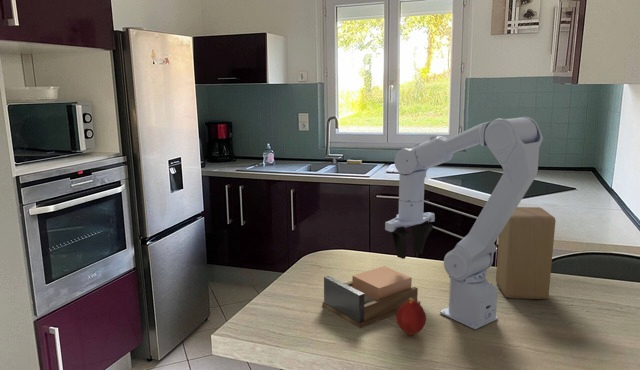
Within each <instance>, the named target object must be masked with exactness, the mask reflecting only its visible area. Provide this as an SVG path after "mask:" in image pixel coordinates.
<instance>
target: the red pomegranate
mask: <svg viewBox="0 0 640 370" xmlns="http://www.w3.org/2000/svg"><path fill="white" fill-rule="evenodd" d="M395 315H396V316H395V319H396V324H397V325H398V327H399V328H400V330H402V331H403V332H404V333H406V334H407V336H414V335H415V334H418V333H419V332H421V330H423V329H424V327H425V325H426V322H427V315H426V312H425V310H424V308H423V306H422V305H421V303H420V304H418V303H417V302H416V301H415V300H414V299H413V298H409V299H408V301H407V302H405V303H403V304H402V305H401V306H400V307H399V309H398V311H397V314H395Z"/></svg>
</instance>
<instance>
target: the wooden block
mask: <svg viewBox="0 0 640 370" xmlns="http://www.w3.org/2000/svg"><path fill="white" fill-rule="evenodd" d="M556 220H557V219H556V217H554V216H553V215H552V214H550V213H549V212H548V211H547V210H545V209H544V208H542V207H539V206H538V207H536V206H534V207H531V206H530V207H529V206H528V207H527V206H517V208H516V209H515V211H514V212H513V214H512V216H511V217H510V219H509V220H508V222H507V224H506V225H505V227H504V228H503V230H502V232H501V233H500V235H499V236H498V243H497V244H498V245H497V257H496V270H495V271H496V273H495V282H496V284H497V286H498V287H499V289H500V290H501V292H502V293H503V295H504V297H506V298H508V299H531V300H534V299H535V300H547V299H548V298H549V296H550V285H551V284H550V283H551V276H552V275H551V274H552V263H553V262H552V261H553V252H554V241H555V232H556V231H555V230H556Z"/></svg>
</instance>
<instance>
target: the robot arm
mask: <svg viewBox="0 0 640 370" xmlns="http://www.w3.org/2000/svg"><path fill="white" fill-rule="evenodd" d="M543 140H544V137H543V134H542V131H541V129H540V127H539V124H538V123H537V121H536V120H535V119H533V118H531V117H529V116H519V117H513V118H496V119H494V120H492V121H487V122H483V123H480V124H476V125H475V126H473V127H471V128H469V129H466V130H464V131H462V132H459V133H458V134H456V135H455V134H454V135H453V136H451V137H449V138H448V137H445V136H443V135H438V134H435V135H432V136H429V139H428V140H426V141H424V142H422V143H420V142H416V143H414V144H413V147H412V148H401V149H400V150H398V152H396V154H395V156H394V166H395V169H396V170H397V172H398V173H399V180H398V183H399V185H398V187H399V188H398V214H396V217H395V218H392V219H390V220H388V221H385V223H384V230H385V231H387V232H388V235H390V237H391V239H392V241H393V244H394V248H395V252H396V256H397V258H399V259H402V260H406V258H407V251H408V250H407V248H408V243H409V239H410V237H411V234H412V250H413V252H414V253H416V254H418V255H421V254H423V251H424V247H425V243H426V241H427V238H428V237H429V235H430V233H431V232H432V230H433V227H434V225H433V224H431V223H432V222H435V219H436V217H435V213H434V212H429V211H428V212H424V210H425V209H424V208H425V207H424V205H425V204H424V203H425V202H424V201H425V179H426V177H427V171H428V170H429V169H431V168H433V167H436V166H439V165H442V164H444V163H448V162H450V161H451V160H452V158H453V156H454V153H457V152H460V151H463V150H466V149H469V148H472V147H475V146H477V145H480V146H481V147H488V149H489V150H490V152H491V153H492V155H493V156H494V157H495V159H496V160H497V162H498V163H499V164H500V166H501V167H502V169H503V174H502V175H501V177H500V179H499V180H498V182H497V184H496V185H495V187H494V189H493V190H492V193H491V194H490V196H489V198H488V199H487V201H486V203H485V204H484V206H483V208H482V209H481V212H480V213H479V215H478V216H477V218H476V220H475V222H474V224H473V225H472V227H471V228H470V230H469V232H468V233H467V235H465V236H464V237H463V238H462V239H461V240H460V241H459V242H457V243H456V245H455V246H454V248H453V249H452V250H450V251H448V252H447V253H446V254H445V256H444V258H443V266H444V270H445V272H446V274H447V275H448V278H449V293H448V294H449V296H448V297H449V298H448V307H446V308H442V309H441V310H440V311H439V314H441V315H443V316H446V317H448V318H449V319H452V320H454V321H456V322H458V323H461V324H463V325H464V326H466V327H469V328H471V329H474V330H477V329H479V328H482V327H484V326H486V325H488V324H491V323H492V322H494V321H496V320H498V319H499V318H498V315H497V303H498V289H497V288H496V286H495V285H493V284H492V283H490V282H489V281H488V280H487V278H486V276H487V271H488V270H489V269H490V268H491V266H492V265H493V262H494V254H495V252H496V251H497V250H498V247H497V246H496V244H495V242H496V241H497V240H498V239H499V235H500V233H501V232H502V230H503V228H504V227H505V225H506V224H507V222H508V220H509V219H510V217H511V216H512V214H513V212H514V211H515V209H516V208H517V207H519V204H520V203H521V201H522V199H523V198H524V197H525V195H526V193H527V192H528V190H529V188H530V186H531V185H532V184H533V182H534V181H535V179H536V177H537V175H538V169H539V156H540V154H539V153H540V148H541V147H540V146H541V144H542V142H543ZM429 222H430V223H429ZM408 227H410V228H411V231H407V229H405V228H408Z"/></svg>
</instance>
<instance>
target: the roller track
mask: <svg viewBox="0 0 640 370" xmlns="http://www.w3.org/2000/svg"><path fill="white" fill-rule="evenodd" d="M418 292H419V289H418V287H416V286H412V287H411V288H410V289H407V290H404V291H401V292H398V293H395V294H392V295H390V296H387V297H384V298H381V299H378V300H375V299H373V298H372V297H370V296H368V295H366V294H364V293H362V292H360V291H358V290H356V289H354V288H352V280H350V281H347V282H343V281H341V280H338V279H336V278H334V277H332V276H331V275H326V276H324V277H323V301H322V302H321V304H322V305H321V306H323V308H326V309H327V310H330V311H331V312H333V313H335V314H336V315H338V316H339V317H341V318H343V319H345V320H346V321H348V322H349V323H352V324H353V325H355V326H357V328H363V327H364V328H365V327H366V326H369V325H371V324H375V323H377V322H380V321H382V320H384V319H387V318H389V317H393V316H395V315H396V314H397V311H398V309H399V307H400V306H401V305H402V304H403V303H405V302H407V301H408V299H409V298H413V299H414V300H415V301H416V302H417V303H418V304H420V305H421V301H420V300H418V296H419V295H418Z"/></svg>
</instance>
